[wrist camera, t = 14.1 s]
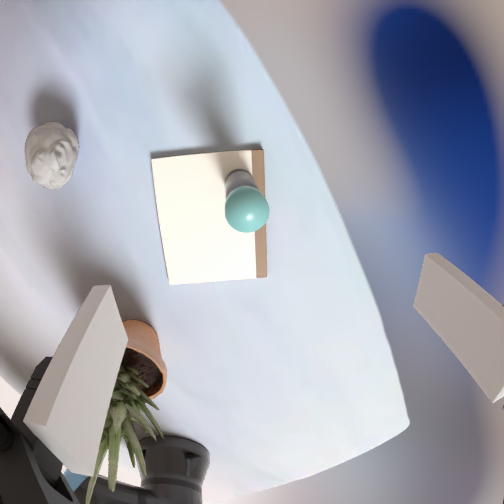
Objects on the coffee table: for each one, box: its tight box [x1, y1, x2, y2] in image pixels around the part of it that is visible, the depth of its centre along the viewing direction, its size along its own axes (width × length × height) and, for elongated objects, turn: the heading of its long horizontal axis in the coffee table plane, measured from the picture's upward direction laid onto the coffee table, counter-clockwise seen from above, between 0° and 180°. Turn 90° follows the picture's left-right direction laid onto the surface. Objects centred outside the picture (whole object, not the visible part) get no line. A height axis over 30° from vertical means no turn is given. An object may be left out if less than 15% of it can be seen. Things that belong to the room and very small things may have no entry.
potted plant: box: [86, 320, 167, 504], centre depth 26 cm, size 10×10×25 cm
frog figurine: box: [25, 122, 79, 190], centre depth 23 cm, size 6×7×7 cm
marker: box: [225, 169, 269, 233], centre depth 25 cm, size 3×3×10 cm
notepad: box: [151, 149, 267, 285], centre depth 31 cm, size 11×14×1 cm
